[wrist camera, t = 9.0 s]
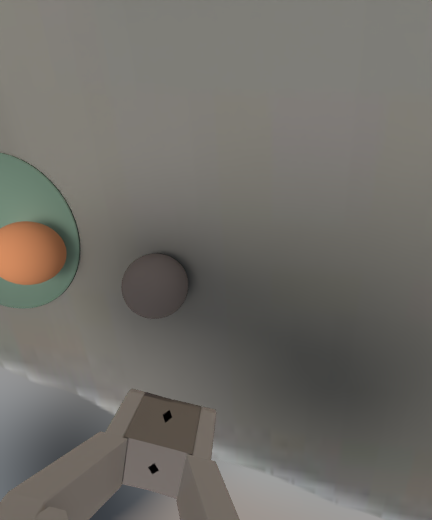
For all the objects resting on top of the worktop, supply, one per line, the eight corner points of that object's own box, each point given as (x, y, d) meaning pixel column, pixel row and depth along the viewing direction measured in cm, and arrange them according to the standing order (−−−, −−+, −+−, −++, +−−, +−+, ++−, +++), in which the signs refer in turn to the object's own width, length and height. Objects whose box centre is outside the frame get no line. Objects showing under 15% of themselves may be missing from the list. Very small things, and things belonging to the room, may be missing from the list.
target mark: (83, 170, 20) (82, 170, 20) (76, 321, 24) (75, 322, 23) (-78, 136, 20) (-81, 135, 20) (-59, 289, 24) (-61, 290, 24)
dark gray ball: (106, 256, 17) (146, 242, 21) (106, 320, 18) (143, 294, 23) (173, 272, 15) (200, 254, 20) (168, 339, 17) (194, 308, 22)
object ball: (-9, 230, 15) (-22, 213, 18) (-5, 301, 17) (-17, 275, 20) (77, 230, 19) (55, 216, 22) (75, 288, 20) (54, 268, 23)
